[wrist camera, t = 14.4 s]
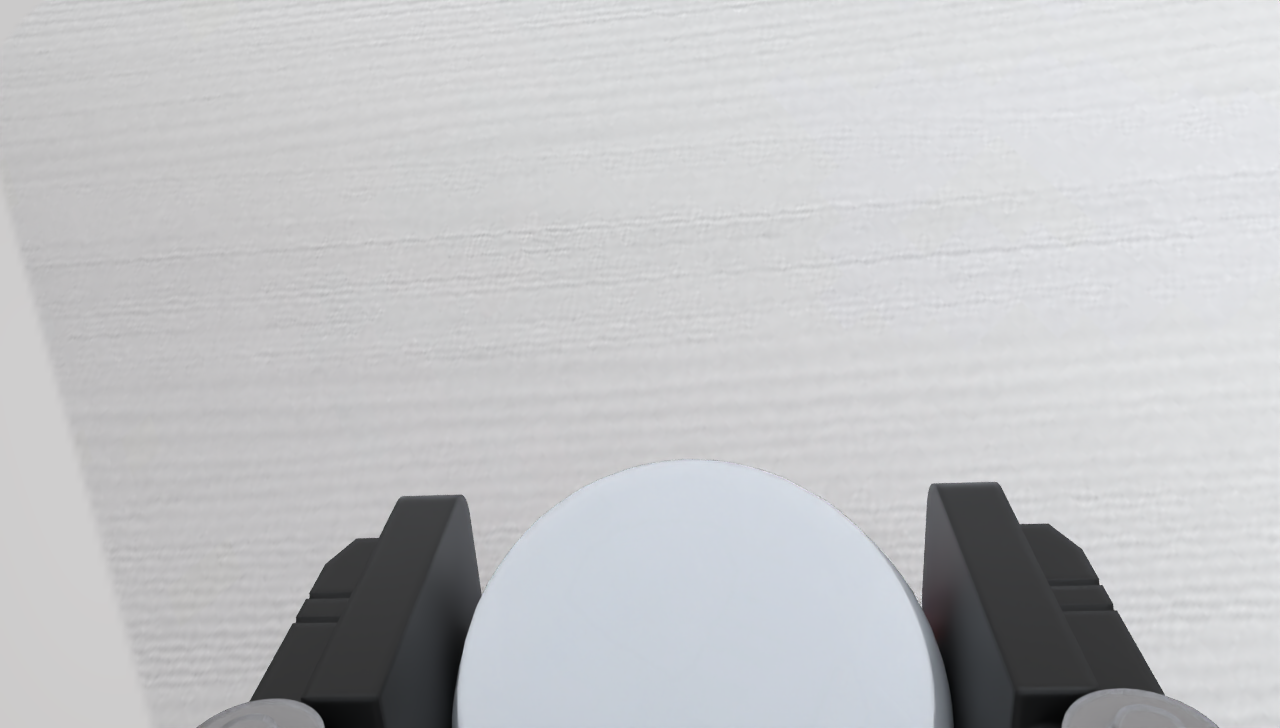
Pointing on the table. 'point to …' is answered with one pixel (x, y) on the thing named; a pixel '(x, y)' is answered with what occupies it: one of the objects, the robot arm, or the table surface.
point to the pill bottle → (698, 614)
